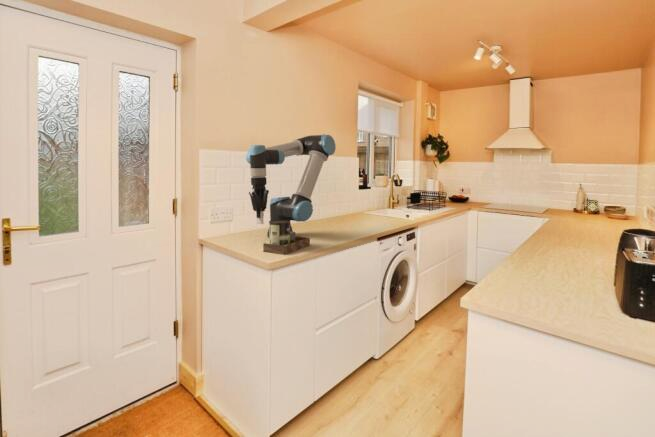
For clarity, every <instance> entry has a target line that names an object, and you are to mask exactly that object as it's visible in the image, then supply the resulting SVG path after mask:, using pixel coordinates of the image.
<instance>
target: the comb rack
mask: <svg viewBox="0 0 655 437" xmlns="http://www.w3.org/2000/svg"><path fill="white" fill-rule="evenodd" d="M310 242H311V237H304V236H303V237H302V236H296V235H295V240H290V244H287V245H284V246H281V245H274V244H270V243H267V242H266V243H265V242H264V243H263V244H262V246H263V247H262V248H263V250H262V251H263V252H264V253H271V254H277V255H283V256H284V255H286V254H289V253H293V252H295V251H299V250H301V249H304V248H307V247H309V246H311V243H310Z"/></svg>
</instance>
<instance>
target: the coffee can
mask: <svg viewBox="0 0 655 437" xmlns="http://www.w3.org/2000/svg"><path fill="white" fill-rule="evenodd" d="M268 224H269V226H268V230H269V237H268V238H269V244H274V245H281V246H284V245H287V244H290V224H291V220H290V221H288V220H272V221H270V220H269V221H268Z"/></svg>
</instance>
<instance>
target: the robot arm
mask: <svg viewBox="0 0 655 437" xmlns="http://www.w3.org/2000/svg"><path fill="white" fill-rule="evenodd" d="M336 146H337V145H336V141H335V139H334V137H333V136H332V135H330V134H317V135H313V134H312V135H307V136H304V137H300V138H297V139H294V140H292V141H291V142H287V143H283V144H277V145H273V146H267V147H266V146H265V145H264V144H253V145H250V146H249V150H248V151H247V152H246V154H245V159H246V162H247V163H248V164H250V166H249V167H250V177H251V178H250V183H251V186H252V188H251V189H252V190H251V191H249V192H248V195H249V197H250V201H251V206H252V211H254V212H256V218H257V219H256V224H257V225H264V212H266V209H267V204H268V196H269V193H270V192H269V189H267V188H266V185H267V165H282V164H283V163H284V161H285V159H286V158H288V157H293V156H297V157H298V156H299V157H300V156H309V158H308V161H307V164H306V166H305V169H304V170H303V174H302V177H301V180H300V181H299V184H298V187H297V189H296V192H295V193H293V194H292V195H291V196H281V197H273V198H270V201H269V203H270V204H269V214H270V215H269V217H270V218H269V221H272V220H288V221H290V222H291V221H293V222H306V221H308V220H309V219H310V218H311V217H312V215H313V212H314V209H313V208H314V207H313V203H312V199H311V197H312V195H313V192H314V189H315V187H316V184H317V181H318V178H319V175H320V172H321V171H322V168H323V165H324V163H325V162H327V161H328V159H329V156H332V155H334V153H335V152H336ZM290 231H291V232H294V231H293V226H292V224H291V223H290ZM266 235H267V238H269V229H267V234H266Z"/></svg>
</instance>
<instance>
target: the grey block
mask: <svg viewBox="0 0 655 437" xmlns="http://www.w3.org/2000/svg"><path fill="white" fill-rule="evenodd" d="M295 236H296V231H293V232H291V231H290V240H295Z"/></svg>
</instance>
